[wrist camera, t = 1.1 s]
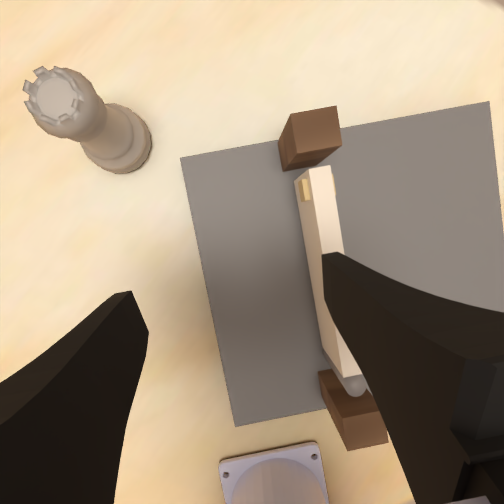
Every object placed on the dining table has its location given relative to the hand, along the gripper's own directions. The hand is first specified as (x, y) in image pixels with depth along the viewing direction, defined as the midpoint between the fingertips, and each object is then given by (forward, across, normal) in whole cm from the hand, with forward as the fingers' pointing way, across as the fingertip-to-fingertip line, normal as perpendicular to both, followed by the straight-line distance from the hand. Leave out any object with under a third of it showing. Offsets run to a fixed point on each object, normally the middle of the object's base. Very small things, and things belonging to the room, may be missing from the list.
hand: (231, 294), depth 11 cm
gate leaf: (+9, -6, +5) cm, 12 cm away
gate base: (+10, -8, +6) cm, 14 cm away
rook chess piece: (+14, +6, -5) cm, 16 cm away
